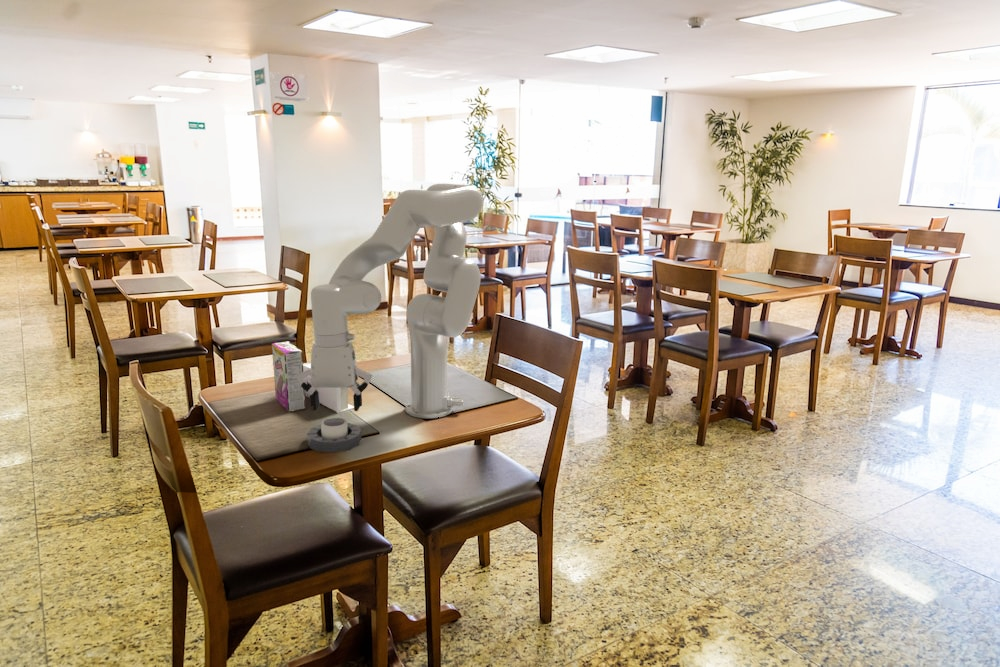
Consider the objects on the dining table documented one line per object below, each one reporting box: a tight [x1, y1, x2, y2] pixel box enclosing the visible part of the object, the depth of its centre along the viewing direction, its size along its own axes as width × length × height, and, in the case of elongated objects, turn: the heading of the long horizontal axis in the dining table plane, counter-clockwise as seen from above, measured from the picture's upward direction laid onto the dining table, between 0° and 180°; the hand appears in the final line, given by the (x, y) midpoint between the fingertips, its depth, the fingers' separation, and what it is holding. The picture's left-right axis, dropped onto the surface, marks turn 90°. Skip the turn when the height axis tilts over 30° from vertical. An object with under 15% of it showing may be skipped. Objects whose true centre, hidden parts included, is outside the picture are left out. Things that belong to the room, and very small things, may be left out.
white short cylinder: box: [320, 417, 348, 439], centre depth 157 cm, size 6×6×5 cm
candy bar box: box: [271, 340, 306, 412], centre depth 179 cm, size 11×5×16 cm, turn 35°
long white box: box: [303, 361, 354, 414], centre depth 183 cm, size 20×6×9 cm, turn 44°
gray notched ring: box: [306, 422, 362, 453], centre depth 158 cm, size 12×12×2 cm
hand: (336, 408), depth 157 cm, fingers open, 9 cm apart
